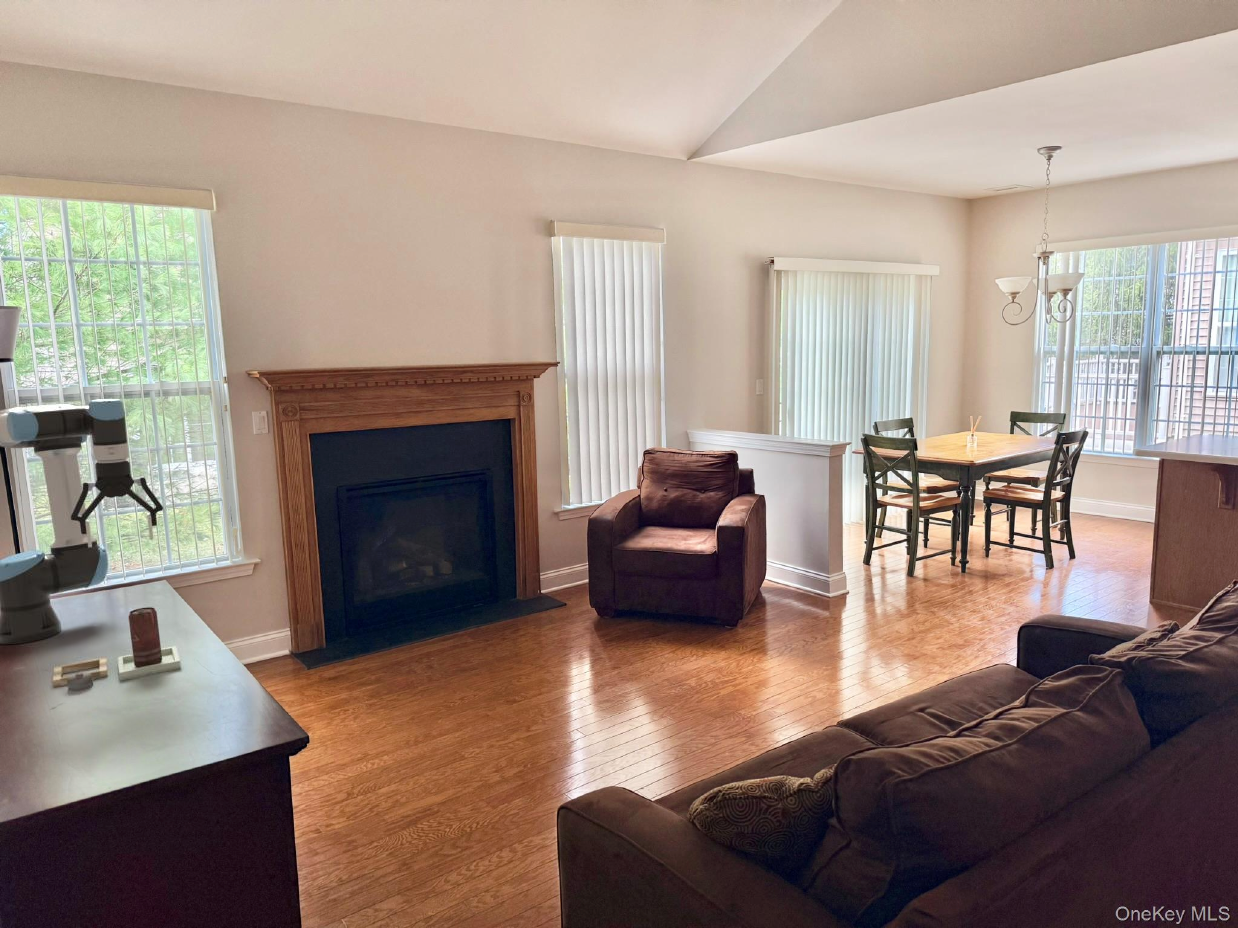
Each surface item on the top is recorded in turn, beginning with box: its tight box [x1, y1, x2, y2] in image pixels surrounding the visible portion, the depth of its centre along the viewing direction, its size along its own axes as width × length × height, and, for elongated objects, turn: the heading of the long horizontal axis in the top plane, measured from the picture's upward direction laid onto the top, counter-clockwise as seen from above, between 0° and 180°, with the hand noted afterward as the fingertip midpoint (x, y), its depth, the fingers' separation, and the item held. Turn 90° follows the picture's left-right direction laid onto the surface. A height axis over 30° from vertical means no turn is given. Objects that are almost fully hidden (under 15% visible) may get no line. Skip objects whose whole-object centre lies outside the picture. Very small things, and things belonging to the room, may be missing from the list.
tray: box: [117, 645, 182, 681], centre depth 210 cm, size 13×13×2 cm
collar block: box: [52, 656, 109, 692], centre depth 203 cm, size 18×11×3 cm, turn 32°
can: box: [128, 606, 162, 668], centre depth 209 cm, size 6×6×14 cm
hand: (121, 542), depth 215 cm, fingers open, 13 cm apart
